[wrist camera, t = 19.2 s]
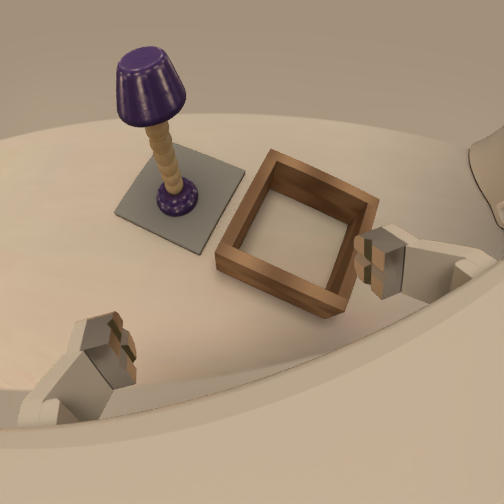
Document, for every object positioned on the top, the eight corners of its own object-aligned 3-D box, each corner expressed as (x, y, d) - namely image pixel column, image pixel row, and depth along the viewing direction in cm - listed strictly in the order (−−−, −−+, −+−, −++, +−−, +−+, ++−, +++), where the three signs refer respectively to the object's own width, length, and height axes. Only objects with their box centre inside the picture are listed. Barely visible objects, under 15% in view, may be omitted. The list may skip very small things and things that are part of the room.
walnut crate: (359, 221, 31) (379, 199, 26) (325, 318, 27) (344, 311, 23) (264, 177, 32) (270, 148, 27) (216, 269, 28) (214, 252, 23)
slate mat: (245, 173, 32) (245, 170, 31) (199, 255, 28) (199, 253, 28) (165, 142, 32) (164, 139, 32) (115, 214, 29) (113, 212, 29)
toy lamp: (144, 203, 29) (87, 74, 13) (170, 168, 31) (139, 33, 15) (183, 224, 29) (146, 91, 13) (208, 187, 30) (199, 46, 14)
